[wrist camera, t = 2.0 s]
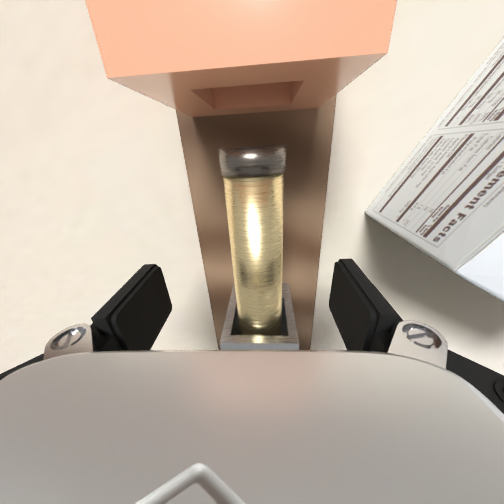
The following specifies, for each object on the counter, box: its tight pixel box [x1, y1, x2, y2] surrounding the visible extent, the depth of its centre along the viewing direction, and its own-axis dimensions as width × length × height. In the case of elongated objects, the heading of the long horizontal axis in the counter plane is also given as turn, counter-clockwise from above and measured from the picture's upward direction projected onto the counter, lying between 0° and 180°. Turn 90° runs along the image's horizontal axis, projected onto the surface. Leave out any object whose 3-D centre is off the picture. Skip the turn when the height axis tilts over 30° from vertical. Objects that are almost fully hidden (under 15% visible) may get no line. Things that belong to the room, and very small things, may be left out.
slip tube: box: [218, 145, 286, 336], centre depth 15 cm, size 20×3×3 cm, turn 3°
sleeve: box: [220, 283, 299, 350], centre depth 18 cm, size 10×5×6 cm, turn 3°
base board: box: [176, 94, 336, 350], centre depth 18 cm, size 29×10×2 cm, turn 3°
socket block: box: [85, 0, 397, 117], centre depth 8 cm, size 5×8×8 cm, turn 93°
